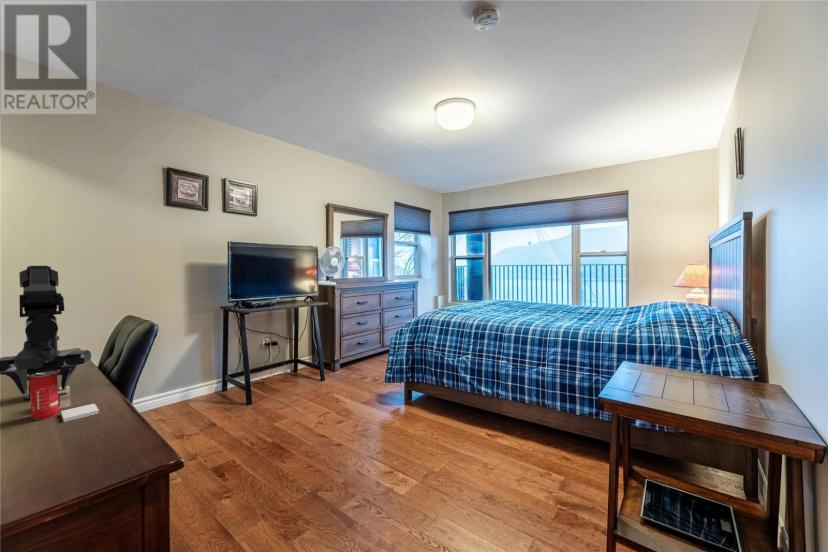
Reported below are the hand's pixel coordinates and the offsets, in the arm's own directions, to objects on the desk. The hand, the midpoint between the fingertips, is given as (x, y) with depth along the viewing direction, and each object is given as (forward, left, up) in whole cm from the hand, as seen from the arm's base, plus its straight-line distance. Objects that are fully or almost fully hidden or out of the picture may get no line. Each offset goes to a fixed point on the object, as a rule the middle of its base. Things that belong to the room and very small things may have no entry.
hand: (44, 391), depth 96 cm
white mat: (0, +8, -7) cm, 11 cm away
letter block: (-7, -2, -7) cm, 10 cm away
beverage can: (0, 0, -7) cm, 7 cm away
